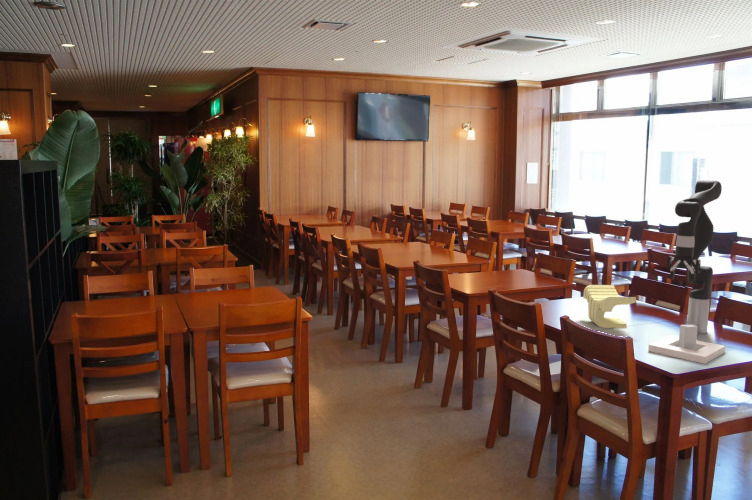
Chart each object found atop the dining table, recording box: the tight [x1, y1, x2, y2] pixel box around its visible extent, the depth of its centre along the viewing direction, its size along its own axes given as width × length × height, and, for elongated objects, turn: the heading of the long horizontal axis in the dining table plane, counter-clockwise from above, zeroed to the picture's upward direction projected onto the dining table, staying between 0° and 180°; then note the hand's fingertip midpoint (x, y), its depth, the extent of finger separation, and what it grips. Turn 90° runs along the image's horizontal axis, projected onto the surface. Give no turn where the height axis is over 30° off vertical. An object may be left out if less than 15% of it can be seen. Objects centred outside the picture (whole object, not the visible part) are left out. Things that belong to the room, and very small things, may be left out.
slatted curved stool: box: [583, 284, 637, 329], centre depth 333 cm, size 30×16×18 cm, turn 0°
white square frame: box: [647, 334, 726, 364], centre depth 288 cm, size 24×24×3 cm
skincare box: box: [678, 324, 698, 351], centre depth 287 cm, size 6×4×12 cm
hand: (682, 280), depth 296 cm, fingers open, 8 cm apart
